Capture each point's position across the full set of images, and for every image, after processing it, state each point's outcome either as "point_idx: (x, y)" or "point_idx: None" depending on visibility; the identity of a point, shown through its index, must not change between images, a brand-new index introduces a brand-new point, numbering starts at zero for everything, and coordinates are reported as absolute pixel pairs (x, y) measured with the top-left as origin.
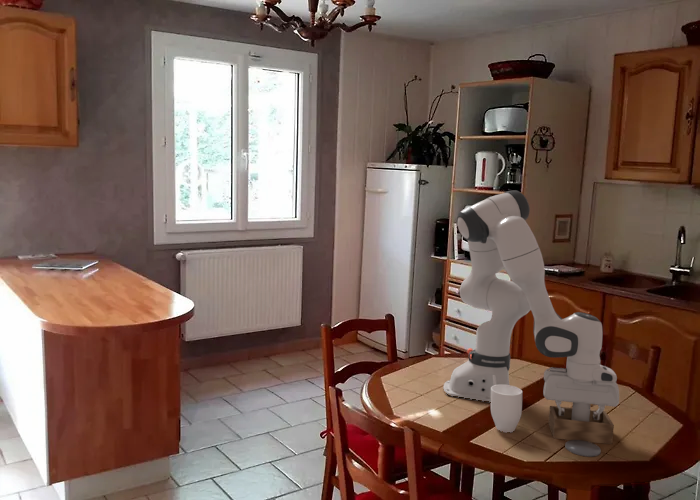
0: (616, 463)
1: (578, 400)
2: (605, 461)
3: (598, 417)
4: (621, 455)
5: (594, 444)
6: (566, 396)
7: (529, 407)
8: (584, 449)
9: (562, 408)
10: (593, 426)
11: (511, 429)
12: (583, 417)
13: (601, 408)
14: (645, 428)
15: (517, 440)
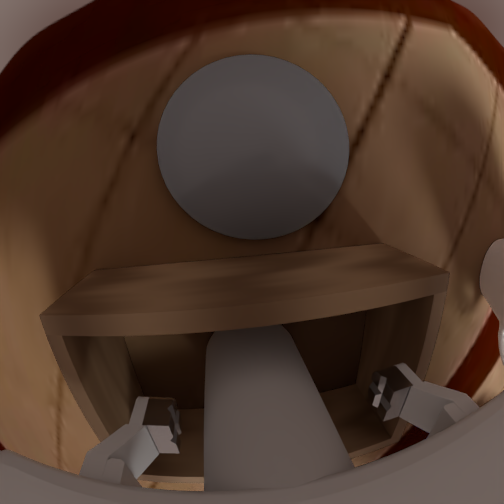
0: (113, 43)
1: (357, 488)
2: (158, 40)
3: (141, 405)
4: (67, 142)
5: (182, 201)
6: (471, 457)
7: (377, 456)
8: (252, 107)
9: (392, 416)
10: (178, 298)
11: (499, 243)
12: (254, 384)
13: (110, 460)
14: (34, 425)
15: (484, 179)
